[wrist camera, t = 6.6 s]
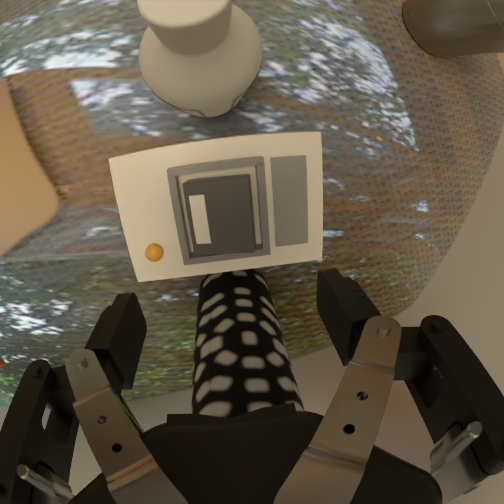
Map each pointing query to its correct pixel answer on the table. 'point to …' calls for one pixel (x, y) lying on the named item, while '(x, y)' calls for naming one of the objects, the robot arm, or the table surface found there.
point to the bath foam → (199, 53)
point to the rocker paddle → (220, 214)
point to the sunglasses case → (1, 363)
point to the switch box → (213, 165)
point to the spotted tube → (239, 348)
